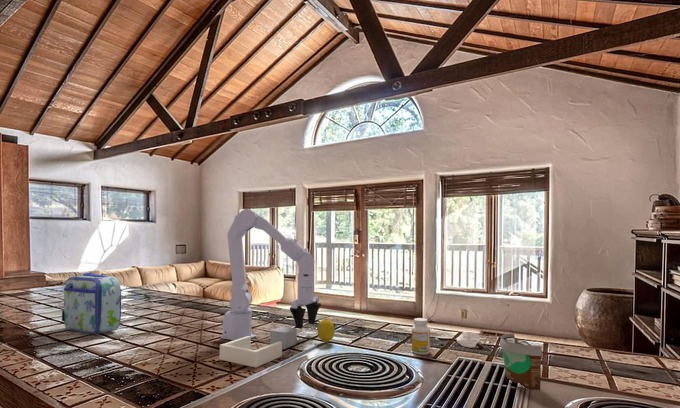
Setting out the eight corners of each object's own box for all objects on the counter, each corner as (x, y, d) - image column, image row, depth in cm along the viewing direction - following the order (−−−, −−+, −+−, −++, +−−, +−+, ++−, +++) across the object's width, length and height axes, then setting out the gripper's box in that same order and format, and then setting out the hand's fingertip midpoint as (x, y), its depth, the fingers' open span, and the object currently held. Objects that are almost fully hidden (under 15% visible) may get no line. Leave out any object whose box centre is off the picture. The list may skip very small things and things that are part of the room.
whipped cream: (453, 347, 122) (451, 332, 122) (463, 341, 127) (461, 326, 127) (477, 351, 117) (475, 335, 117) (486, 344, 121) (484, 329, 122)
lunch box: (57, 329, 142) (60, 273, 144) (88, 323, 151) (91, 270, 153) (90, 339, 128) (94, 276, 130) (123, 332, 137) (126, 274, 139)
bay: (219, 359, 107) (219, 344, 107) (247, 349, 117) (247, 335, 117) (255, 367, 100) (256, 352, 101) (282, 356, 110) (282, 341, 110)
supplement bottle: (418, 348, 118) (418, 316, 118) (433, 352, 114) (433, 319, 115) (408, 352, 114) (408, 319, 115) (423, 356, 110) (423, 322, 111)
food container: (491, 373, 96) (489, 333, 97) (514, 372, 96) (512, 332, 97) (518, 393, 84) (516, 347, 85) (544, 392, 84) (542, 346, 85)
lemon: (332, 346, 120) (332, 320, 121) (315, 345, 121) (315, 319, 122) (336, 341, 125) (336, 316, 126) (319, 340, 126) (320, 316, 127)
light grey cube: (270, 346, 120) (270, 330, 121) (282, 341, 126) (282, 326, 126) (285, 349, 117) (285, 332, 118) (297, 344, 123) (297, 328, 123)
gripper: (303, 290, 125) (303, 331, 124) (326, 285, 138) (326, 323, 137) (286, 288, 129) (285, 329, 128) (310, 283, 141) (309, 320, 140)
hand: (305, 326), depth 132 cm, fingers open, 7 cm apart
